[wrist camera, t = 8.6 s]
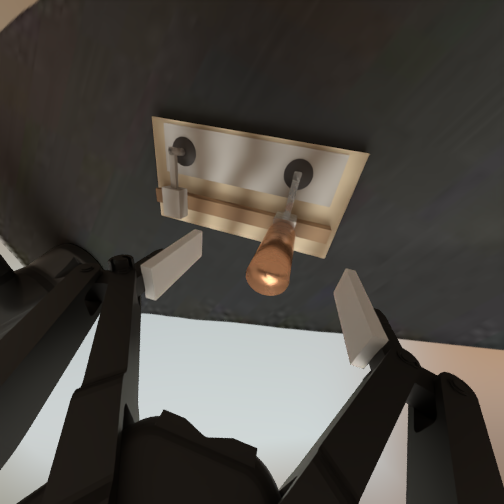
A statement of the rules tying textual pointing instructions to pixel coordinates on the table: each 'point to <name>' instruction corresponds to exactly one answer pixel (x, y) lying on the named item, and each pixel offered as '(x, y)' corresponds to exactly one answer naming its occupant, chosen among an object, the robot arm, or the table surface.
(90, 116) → the table surface
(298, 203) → the holed mounting plate
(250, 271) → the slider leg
